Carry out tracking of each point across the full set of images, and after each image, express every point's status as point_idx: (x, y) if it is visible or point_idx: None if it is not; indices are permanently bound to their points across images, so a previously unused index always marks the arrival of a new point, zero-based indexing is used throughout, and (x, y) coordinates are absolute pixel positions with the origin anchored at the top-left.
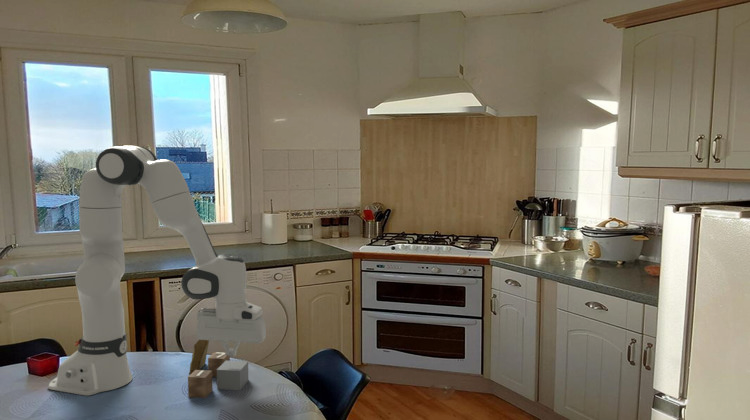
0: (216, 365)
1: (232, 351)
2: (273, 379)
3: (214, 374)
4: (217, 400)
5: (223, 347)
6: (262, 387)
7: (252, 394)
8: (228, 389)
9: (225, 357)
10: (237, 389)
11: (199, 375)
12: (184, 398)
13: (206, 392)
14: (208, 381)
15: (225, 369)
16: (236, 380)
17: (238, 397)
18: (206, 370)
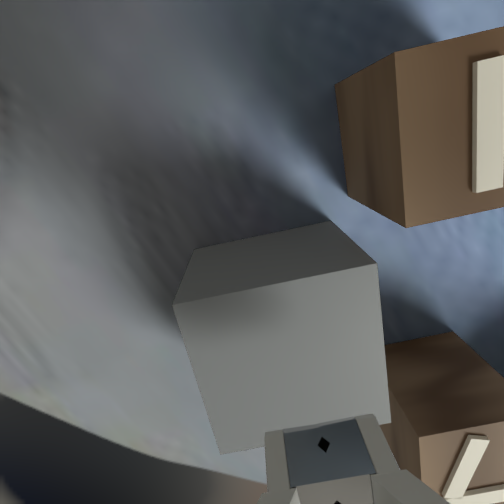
0: (444, 387)
1: (296, 473)
2: (111, 407)
3: (426, 346)
4: (242, 79)
5: (444, 501)
6: (102, 317)
7: (95, 226)
8: (264, 235)
9: (419, 460)
10: (210, 247)
11: (474, 79)
12: (465, 28)
13: (345, 98)
14: (373, 139)
15: (305, 288)
16: (211, 266)
17: (145, 163)
18: (457, 213)
